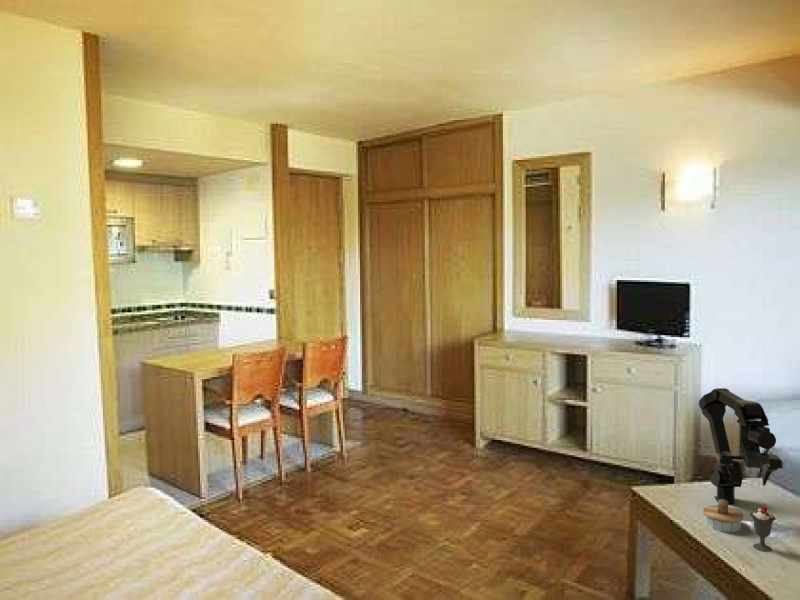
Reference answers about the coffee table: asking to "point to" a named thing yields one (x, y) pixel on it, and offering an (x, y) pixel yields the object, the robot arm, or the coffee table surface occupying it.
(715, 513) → the lid
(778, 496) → the coffee table surface
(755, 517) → the sundae
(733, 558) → the coffee table surface
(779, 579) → the coffee table surface
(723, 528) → the bowl
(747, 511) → the grey square tile
